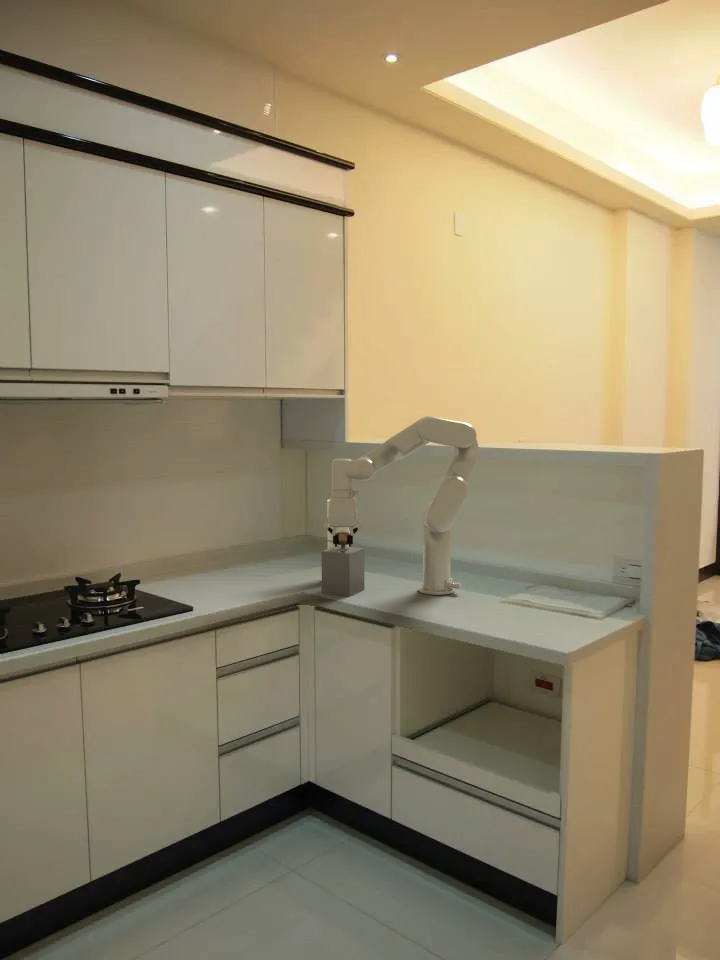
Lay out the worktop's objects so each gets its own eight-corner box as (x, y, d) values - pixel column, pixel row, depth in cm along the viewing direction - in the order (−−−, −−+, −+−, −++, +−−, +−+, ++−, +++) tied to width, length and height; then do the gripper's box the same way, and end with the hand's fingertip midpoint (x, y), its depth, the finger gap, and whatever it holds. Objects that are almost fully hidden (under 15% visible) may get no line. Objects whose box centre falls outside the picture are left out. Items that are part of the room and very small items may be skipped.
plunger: (358, 586, 269) (358, 531, 267) (347, 591, 262) (347, 535, 260) (339, 584, 272) (338, 530, 270) (328, 589, 265) (327, 533, 263)
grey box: (364, 589, 269) (364, 548, 268) (349, 596, 260) (349, 553, 258) (337, 586, 274) (337, 545, 273) (321, 593, 265) (321, 551, 263)
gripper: (367, 493, 267) (367, 544, 269) (319, 493, 268) (319, 544, 269) (367, 495, 260) (367, 548, 262) (317, 495, 260) (318, 548, 262)
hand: (343, 545), depth 265 cm, fingers closed on plunger, 4 cm apart
